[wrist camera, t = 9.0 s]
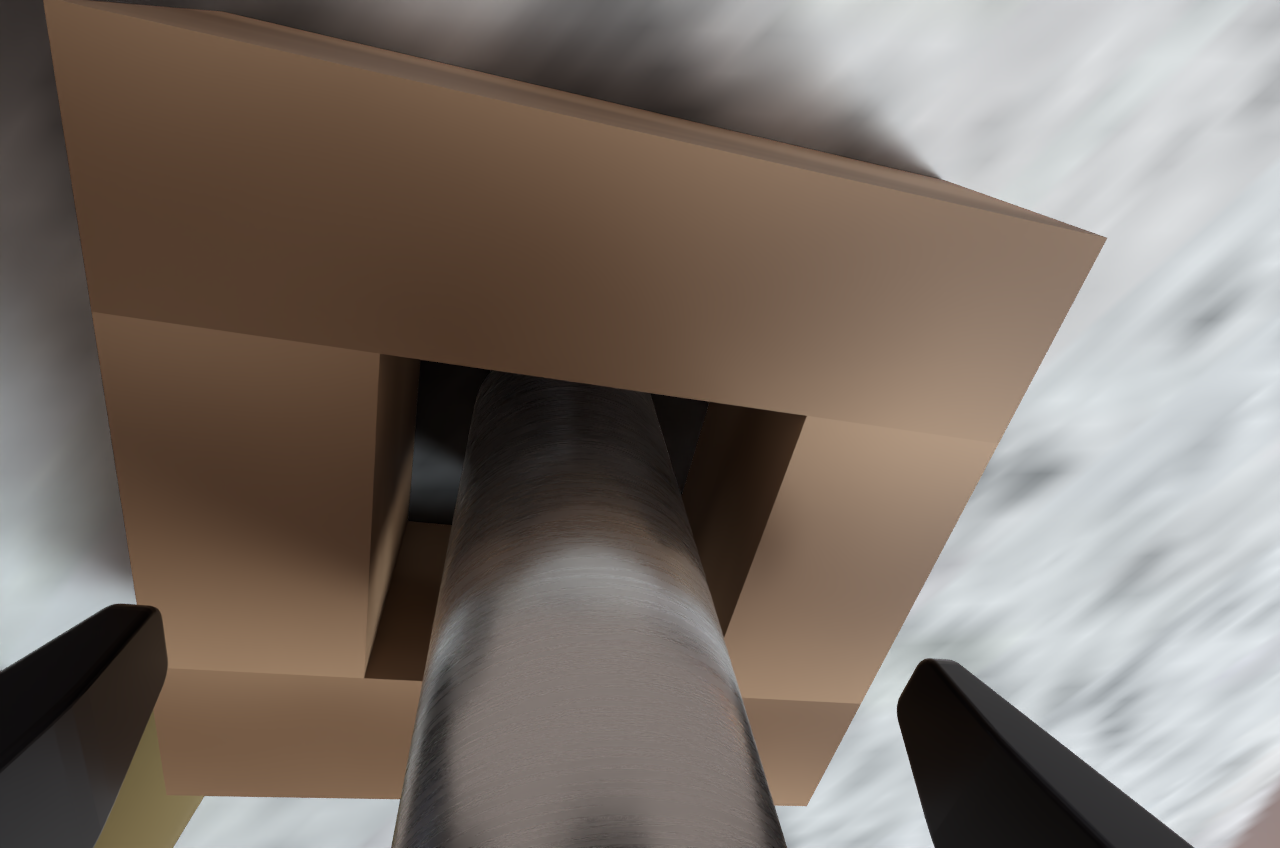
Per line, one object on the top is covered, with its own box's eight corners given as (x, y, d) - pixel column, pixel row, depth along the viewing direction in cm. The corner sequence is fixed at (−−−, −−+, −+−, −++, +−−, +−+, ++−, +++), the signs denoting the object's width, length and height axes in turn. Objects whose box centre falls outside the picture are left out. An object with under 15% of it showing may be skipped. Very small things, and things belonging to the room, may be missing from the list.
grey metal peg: (633, 503, 15) (765, 1182, 6) (464, 485, 14) (333, 1226, 5) (672, 353, 13) (927, 978, 4) (484, 323, 12) (342, 1003, 4)
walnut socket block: (753, 651, 17) (806, 806, 14) (254, 618, 15) (166, 795, 11) (945, 180, 12) (1106, 238, 9) (223, 11, 10) (42, -4, 6)
